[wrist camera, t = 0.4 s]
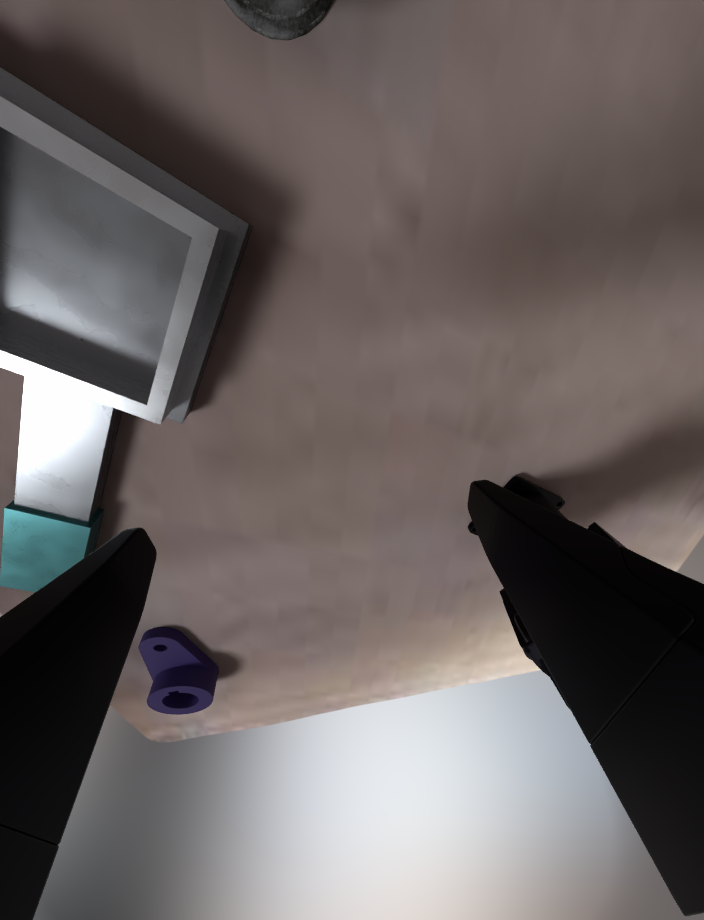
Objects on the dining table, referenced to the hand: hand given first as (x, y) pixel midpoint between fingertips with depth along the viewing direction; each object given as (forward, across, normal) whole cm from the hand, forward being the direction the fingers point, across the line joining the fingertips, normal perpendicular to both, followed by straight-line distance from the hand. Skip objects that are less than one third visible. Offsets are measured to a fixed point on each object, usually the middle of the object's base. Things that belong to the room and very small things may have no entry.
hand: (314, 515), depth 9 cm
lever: (+14, +18, +29) cm, 37 cm away
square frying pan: (+13, +14, +1) cm, 19 cm away
